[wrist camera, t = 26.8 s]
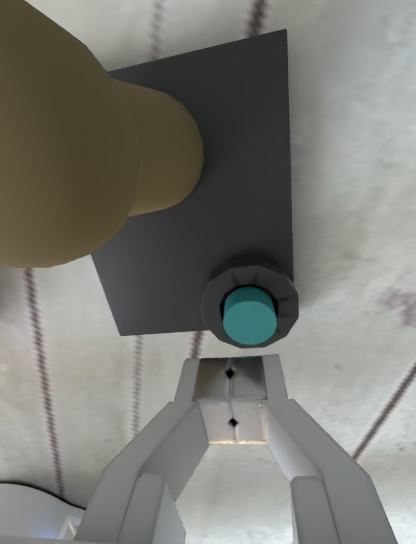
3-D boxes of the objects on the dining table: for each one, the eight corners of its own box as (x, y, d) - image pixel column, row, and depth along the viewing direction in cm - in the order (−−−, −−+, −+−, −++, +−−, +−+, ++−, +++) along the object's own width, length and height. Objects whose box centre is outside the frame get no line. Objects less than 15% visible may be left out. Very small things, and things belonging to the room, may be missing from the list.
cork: (163, 59, 12) (-149, -346, 2) (224, 176, 14) (194, 224, 4) (74, 132, 14) (-323, 78, 4) (138, 227, 16) (-25, 348, 6)
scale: (291, 318, 19) (300, 345, 16) (128, 330, 21) (112, 355, 18) (282, 40, 13) (294, 9, 10) (48, 95, 15) (5, 82, 12)
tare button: (274, 325, 16) (278, 343, 15) (227, 328, 17) (226, 346, 15) (271, 283, 15) (275, 298, 14) (221, 288, 16) (219, 303, 14)
